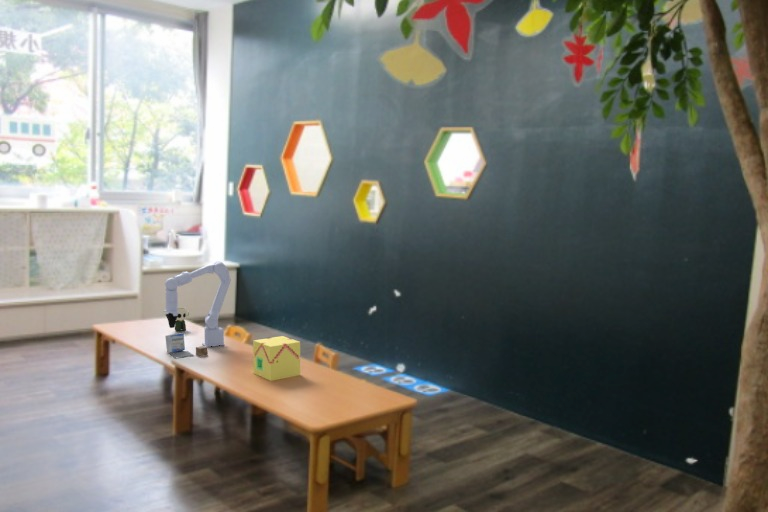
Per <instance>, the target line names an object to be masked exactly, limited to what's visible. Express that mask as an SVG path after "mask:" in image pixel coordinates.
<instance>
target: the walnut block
mask: <svg viewBox="0 0 768 512" xmlns="http://www.w3.org/2000/svg"><path fill="white" fill-rule="evenodd" d="M208 351H209V350H208V347H206V346H204V345H201V346H196V347H195V356H197V355H199V356H198V357H200V356H201V357H204V356H203V355H205V356H208V355H207V354H208Z"/></svg>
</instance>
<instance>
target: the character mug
mask: <svg viewBox="0 0 768 512" xmlns="http://www.w3.org/2000/svg"><path fill="white" fill-rule="evenodd" d="M187 317H190V310H187V307H178V317H177V319H176V323H175V327H174V330H175V331H177V332H180V331H186V330H187V324H186V321H185V320H186V319H187Z"/></svg>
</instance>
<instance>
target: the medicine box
mask: <svg viewBox="0 0 768 512" xmlns="http://www.w3.org/2000/svg"><path fill="white" fill-rule="evenodd" d="M165 346H166V347H165V348H166V352H167V353H169V354H170V353H175V352H183V351H185V350H186V348H185V333H183V332H179V333H178V332H177V333H172V334H168V335H165Z"/></svg>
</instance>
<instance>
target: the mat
mask: <svg viewBox="0 0 768 512" xmlns="http://www.w3.org/2000/svg"><path fill="white" fill-rule="evenodd" d="M169 355H170V356H172V358H174V357H182V358H186V357H185V356H190V357H194V356H193V355H194V354H192V353H191V352H190V351H189V350H186V351H185V350H183V351H178V352H174V353H169Z"/></svg>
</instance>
